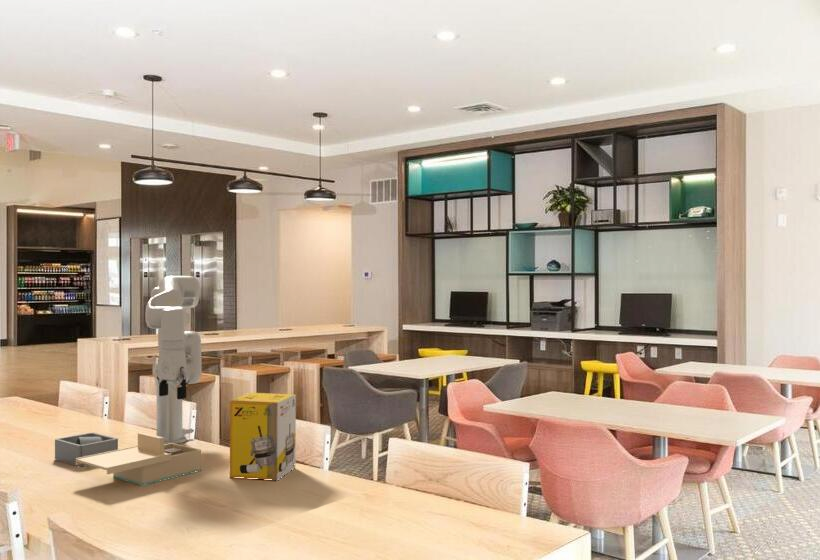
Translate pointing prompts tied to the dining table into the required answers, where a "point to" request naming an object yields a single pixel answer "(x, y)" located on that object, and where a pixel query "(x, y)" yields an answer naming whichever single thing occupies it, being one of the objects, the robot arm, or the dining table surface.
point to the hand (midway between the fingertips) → (172, 397)
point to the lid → (129, 455)
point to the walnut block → (173, 451)
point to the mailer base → (165, 467)
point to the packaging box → (262, 435)
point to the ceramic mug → (88, 440)
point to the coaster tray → (82, 447)
